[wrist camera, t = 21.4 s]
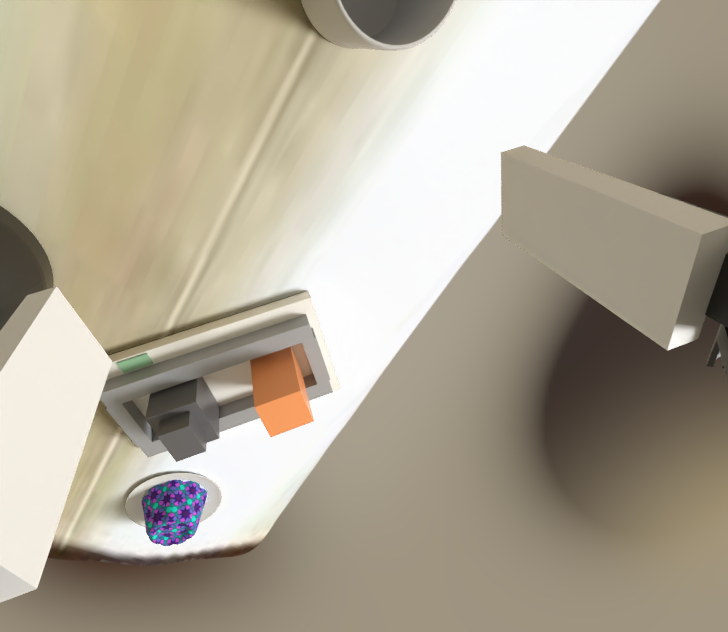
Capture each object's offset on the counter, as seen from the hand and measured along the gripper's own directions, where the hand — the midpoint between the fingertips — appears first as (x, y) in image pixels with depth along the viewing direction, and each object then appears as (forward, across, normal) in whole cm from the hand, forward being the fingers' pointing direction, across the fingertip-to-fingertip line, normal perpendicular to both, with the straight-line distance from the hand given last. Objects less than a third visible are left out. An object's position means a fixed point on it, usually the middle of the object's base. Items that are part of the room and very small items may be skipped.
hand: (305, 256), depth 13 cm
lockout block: (+27, -6, -25) cm, 38 cm away
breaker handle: (+27, -16, -25) cm, 40 cm away
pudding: (+29, -26, -43) cm, 58 cm away
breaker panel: (+29, -12, -25) cm, 40 cm away
